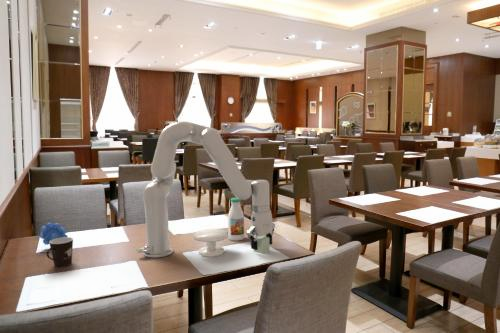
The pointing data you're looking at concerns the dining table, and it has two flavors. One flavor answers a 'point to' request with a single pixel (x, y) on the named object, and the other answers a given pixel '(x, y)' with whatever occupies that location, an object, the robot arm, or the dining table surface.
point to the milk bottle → (235, 221)
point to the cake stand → (211, 241)
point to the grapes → (52, 232)
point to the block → (262, 244)
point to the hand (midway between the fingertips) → (261, 246)
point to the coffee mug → (61, 251)
